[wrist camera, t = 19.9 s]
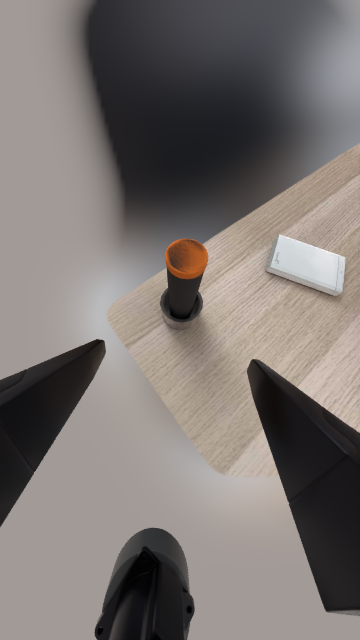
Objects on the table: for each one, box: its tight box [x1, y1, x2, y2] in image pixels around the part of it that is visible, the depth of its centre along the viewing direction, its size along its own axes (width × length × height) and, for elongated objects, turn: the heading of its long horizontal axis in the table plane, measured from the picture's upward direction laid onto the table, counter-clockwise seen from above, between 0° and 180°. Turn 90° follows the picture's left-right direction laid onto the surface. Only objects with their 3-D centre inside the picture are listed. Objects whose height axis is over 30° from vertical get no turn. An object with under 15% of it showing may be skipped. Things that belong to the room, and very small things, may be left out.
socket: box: [160, 288, 203, 330], centre depth 23 cm, size 6×6×4 cm
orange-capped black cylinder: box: [165, 239, 208, 319], centre depth 18 cm, size 4×4×12 cm
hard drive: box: [266, 234, 345, 296], centre depth 28 cm, size 2×8×12 cm
